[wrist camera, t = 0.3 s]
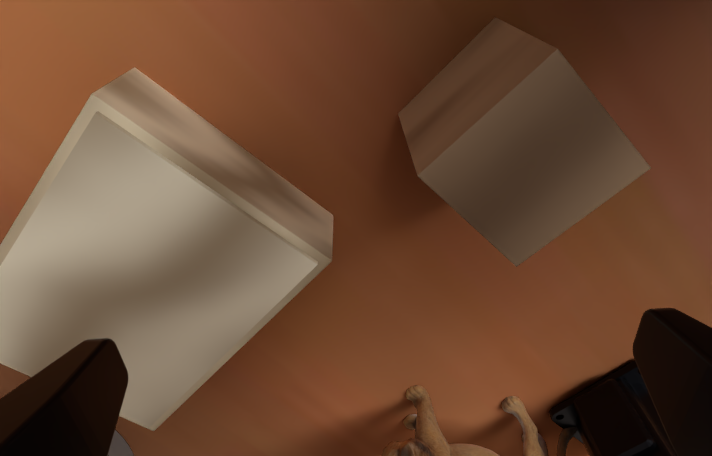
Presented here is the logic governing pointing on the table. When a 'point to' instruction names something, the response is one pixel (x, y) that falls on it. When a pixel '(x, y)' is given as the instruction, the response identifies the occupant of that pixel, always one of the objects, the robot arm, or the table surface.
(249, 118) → the table surface
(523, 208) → the grey-brown block
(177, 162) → the cream flat block
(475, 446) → the lion figurine
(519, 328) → the table surface
